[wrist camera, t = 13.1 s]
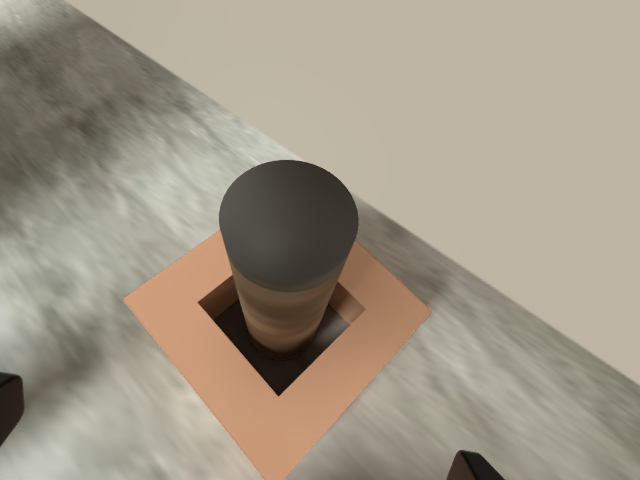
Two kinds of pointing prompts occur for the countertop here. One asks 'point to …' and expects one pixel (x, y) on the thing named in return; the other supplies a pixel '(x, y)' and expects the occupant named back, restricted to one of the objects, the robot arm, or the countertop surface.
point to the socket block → (238, 374)
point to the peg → (286, 249)
